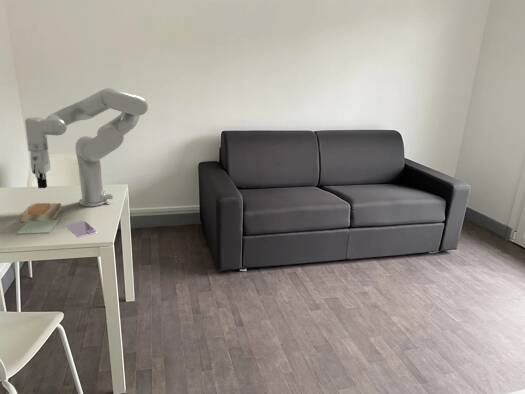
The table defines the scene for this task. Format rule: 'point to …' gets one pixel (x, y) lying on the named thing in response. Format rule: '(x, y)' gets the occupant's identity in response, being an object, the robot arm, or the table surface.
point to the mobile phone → (81, 229)
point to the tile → (39, 209)
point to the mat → (38, 227)
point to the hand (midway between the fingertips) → (42, 187)
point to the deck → (49, 215)
